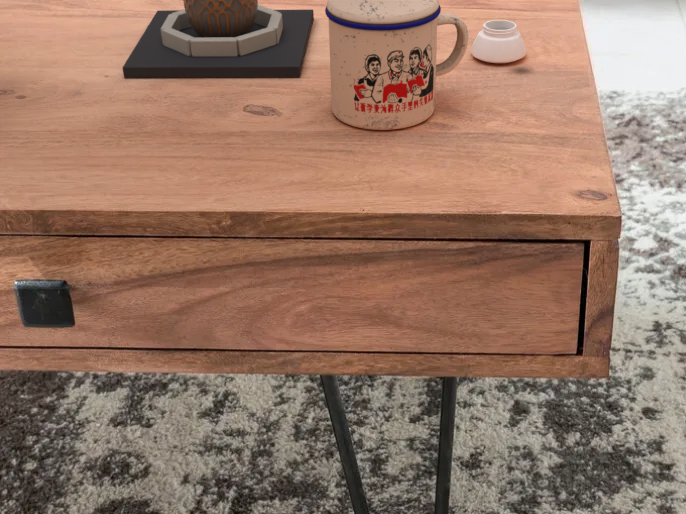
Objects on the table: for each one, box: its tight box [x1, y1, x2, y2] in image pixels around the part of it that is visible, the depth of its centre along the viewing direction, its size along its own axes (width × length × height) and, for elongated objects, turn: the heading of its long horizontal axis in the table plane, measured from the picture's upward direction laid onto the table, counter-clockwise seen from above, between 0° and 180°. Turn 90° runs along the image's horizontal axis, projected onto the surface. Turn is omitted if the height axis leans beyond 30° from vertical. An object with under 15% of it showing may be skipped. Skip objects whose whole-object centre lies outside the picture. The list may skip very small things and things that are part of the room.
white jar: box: [470, 19, 527, 64], centre depth 96 cm, size 5×3×5 cm
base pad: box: [122, 4, 315, 79], centre depth 100 cm, size 16×16×2 cm
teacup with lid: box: [324, 0, 469, 131], centre depth 85 cm, size 12×9×12 cm
